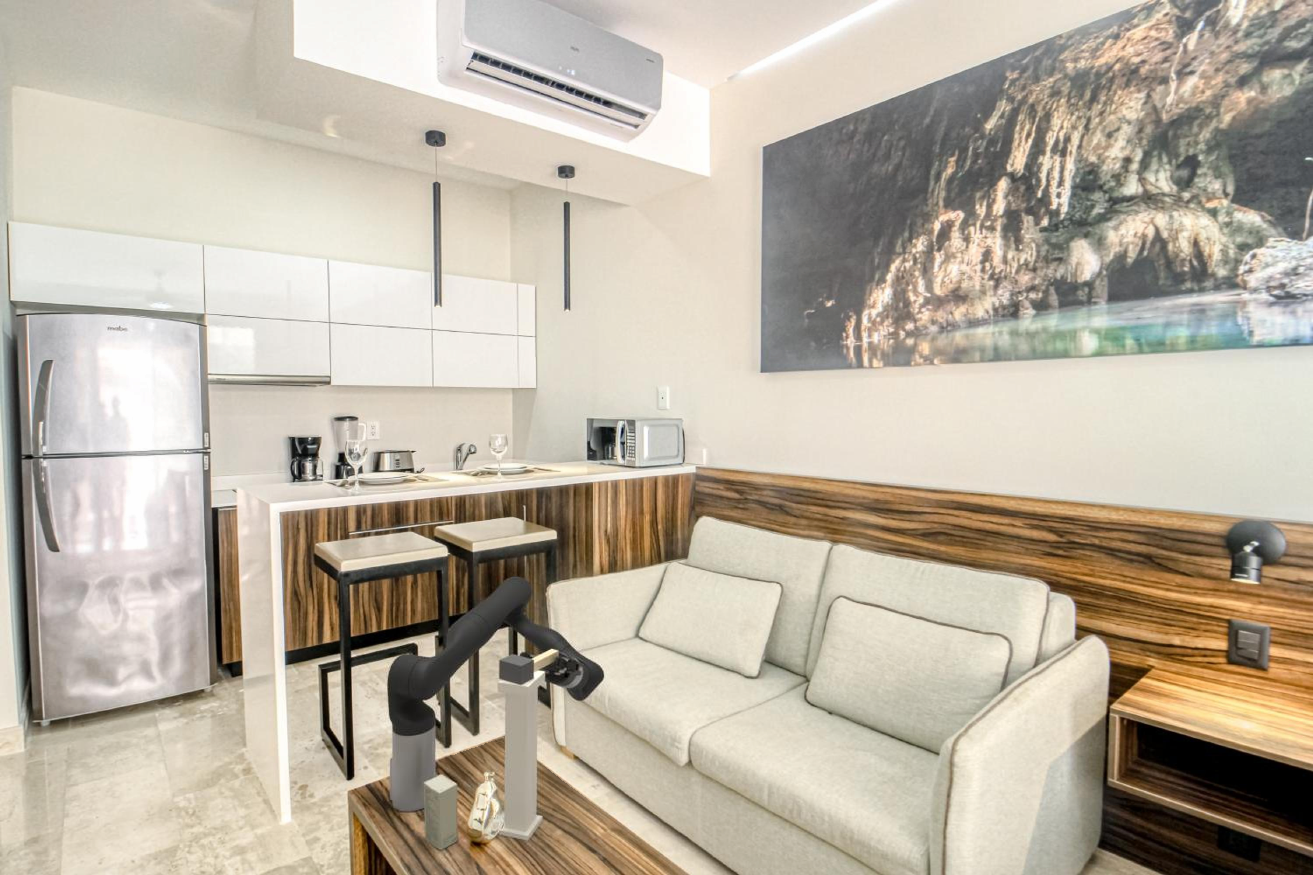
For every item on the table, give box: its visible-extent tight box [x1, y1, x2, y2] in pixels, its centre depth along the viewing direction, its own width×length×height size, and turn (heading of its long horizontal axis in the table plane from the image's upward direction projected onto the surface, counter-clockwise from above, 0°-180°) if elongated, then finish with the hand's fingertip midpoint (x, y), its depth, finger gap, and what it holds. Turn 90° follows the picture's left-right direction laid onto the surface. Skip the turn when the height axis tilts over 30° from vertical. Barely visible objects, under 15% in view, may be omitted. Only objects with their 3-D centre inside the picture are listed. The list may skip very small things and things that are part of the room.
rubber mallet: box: [498, 649, 559, 685], centre depth 144 cm, size 15×6×4 cm, turn 151°
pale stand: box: [497, 670, 546, 842], centre depth 141 cm, size 8×7×33 cm
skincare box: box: [423, 773, 459, 851], centre depth 138 cm, size 6×4×12 cm
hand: (539, 658), depth 149 cm, fingers open, 8 cm apart
